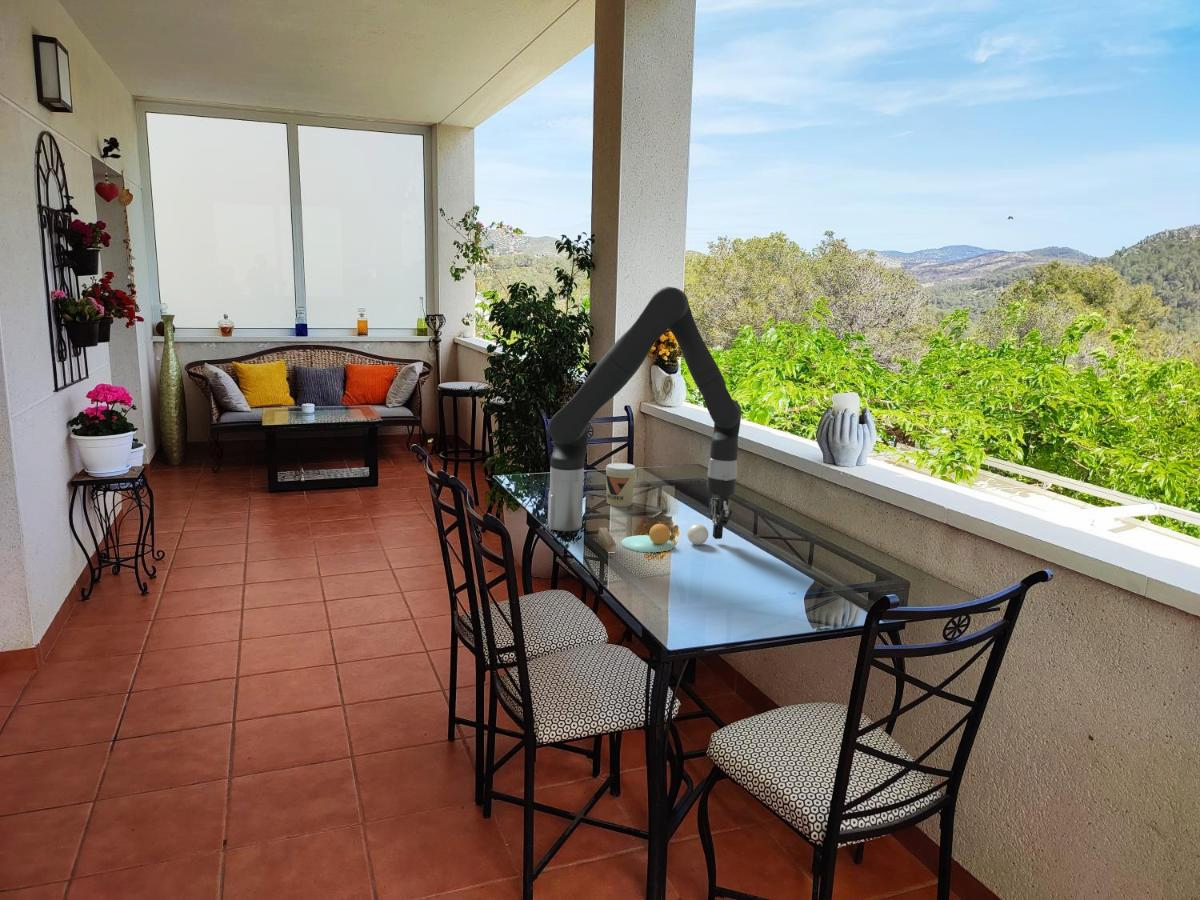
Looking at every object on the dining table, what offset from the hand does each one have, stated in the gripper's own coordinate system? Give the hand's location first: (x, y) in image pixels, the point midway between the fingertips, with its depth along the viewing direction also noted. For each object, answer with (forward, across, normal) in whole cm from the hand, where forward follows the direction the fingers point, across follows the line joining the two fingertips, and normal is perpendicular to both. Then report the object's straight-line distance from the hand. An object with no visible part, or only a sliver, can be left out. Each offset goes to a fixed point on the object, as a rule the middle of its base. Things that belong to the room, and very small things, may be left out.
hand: (717, 537), depth 211 cm
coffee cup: (+2, -40, -19) cm, 44 cm away
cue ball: (-1, +1, -6) cm, 6 cm away
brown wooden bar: (+2, 0, -30) cm, 30 cm away
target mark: (+2, 0, -19) cm, 19 cm away
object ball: (-1, 0, -16) cm, 16 cm away
